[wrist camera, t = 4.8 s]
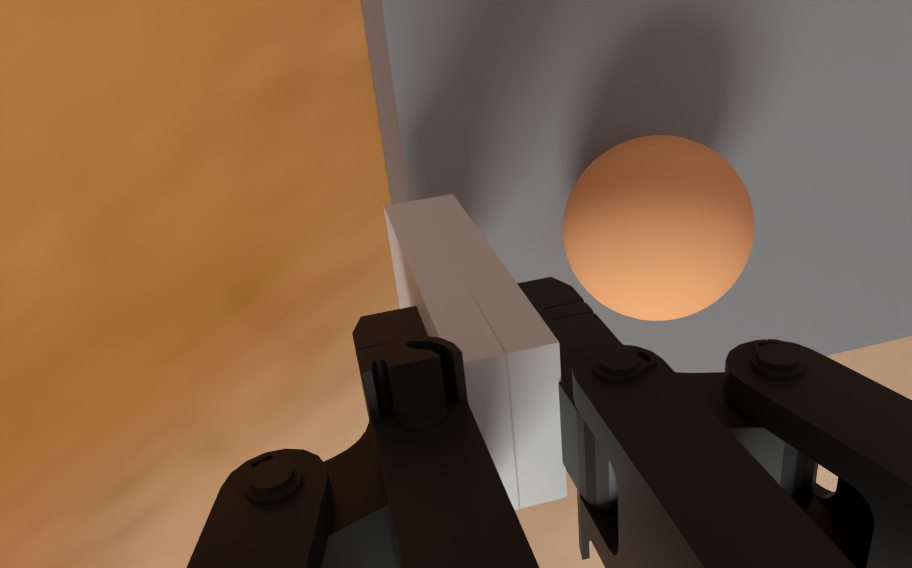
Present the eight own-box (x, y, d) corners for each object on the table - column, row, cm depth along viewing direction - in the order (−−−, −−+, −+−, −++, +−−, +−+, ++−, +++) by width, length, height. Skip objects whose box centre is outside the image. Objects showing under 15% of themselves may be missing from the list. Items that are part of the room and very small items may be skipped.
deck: (927, -119, 21) (1064, -130, 17) (865, 271, 26) (960, 324, 22) (353, -49, 18) (375, -46, 14) (416, 367, 23) (443, 444, 20)
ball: (696, 104, 17) (806, 147, 14) (690, 259, 19) (787, 333, 16) (533, 131, 17) (604, 184, 13) (542, 289, 18) (607, 372, 15)
